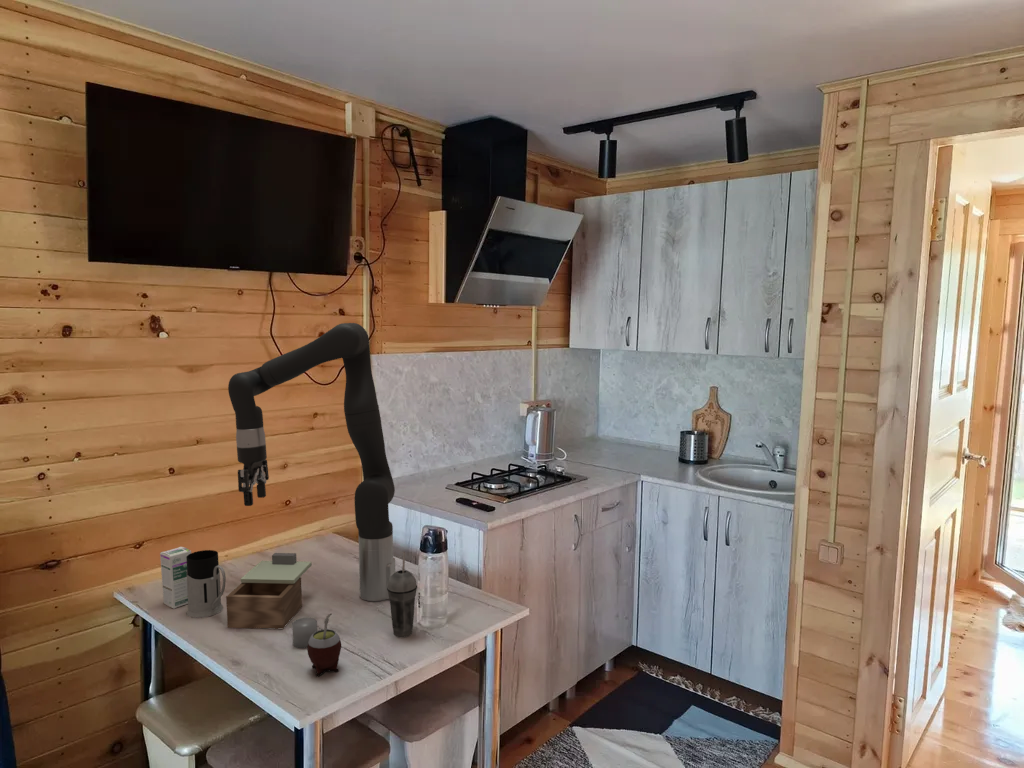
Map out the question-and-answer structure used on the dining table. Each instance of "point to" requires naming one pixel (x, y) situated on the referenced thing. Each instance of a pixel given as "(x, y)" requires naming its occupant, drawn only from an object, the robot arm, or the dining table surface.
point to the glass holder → (204, 584)
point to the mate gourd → (324, 649)
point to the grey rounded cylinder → (303, 631)
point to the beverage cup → (402, 601)
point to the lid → (277, 570)
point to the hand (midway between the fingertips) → (255, 501)
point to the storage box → (263, 605)
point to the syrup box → (174, 576)
